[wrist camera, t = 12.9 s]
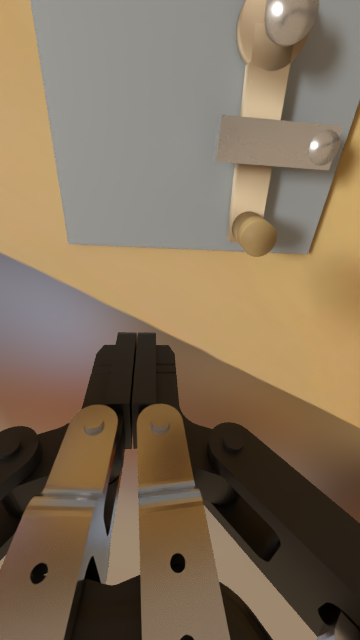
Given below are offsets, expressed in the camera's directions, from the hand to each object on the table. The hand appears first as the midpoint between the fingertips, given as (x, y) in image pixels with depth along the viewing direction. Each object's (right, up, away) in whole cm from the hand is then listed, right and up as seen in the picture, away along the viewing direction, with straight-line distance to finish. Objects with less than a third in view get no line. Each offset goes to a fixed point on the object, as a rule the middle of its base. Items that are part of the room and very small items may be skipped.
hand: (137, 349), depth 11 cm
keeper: (+10, +20, +11) cm, 25 cm away
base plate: (+4, +19, +13) cm, 23 cm away
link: (+8, +17, +13) cm, 23 cm away
